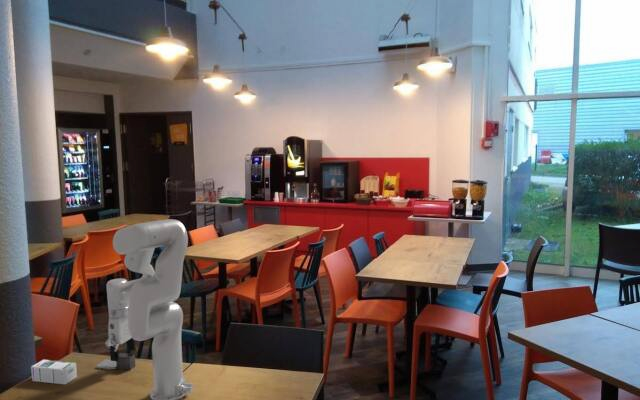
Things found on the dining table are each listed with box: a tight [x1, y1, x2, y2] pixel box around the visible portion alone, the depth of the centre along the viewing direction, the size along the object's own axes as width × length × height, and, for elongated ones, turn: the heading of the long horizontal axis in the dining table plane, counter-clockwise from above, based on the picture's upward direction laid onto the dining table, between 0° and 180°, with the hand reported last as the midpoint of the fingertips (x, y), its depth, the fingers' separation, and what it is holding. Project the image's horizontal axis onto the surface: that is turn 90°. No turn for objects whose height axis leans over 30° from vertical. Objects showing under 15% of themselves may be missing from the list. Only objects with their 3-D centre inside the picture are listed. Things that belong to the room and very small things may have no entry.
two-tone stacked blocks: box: [96, 352, 136, 371], centre depth 178 cm, size 14×5×5 cm, turn 77°
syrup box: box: [30, 359, 78, 385], centre depth 169 cm, size 6×6×14 cm
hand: (123, 355), depth 177 cm, fingers open, 9 cm apart
